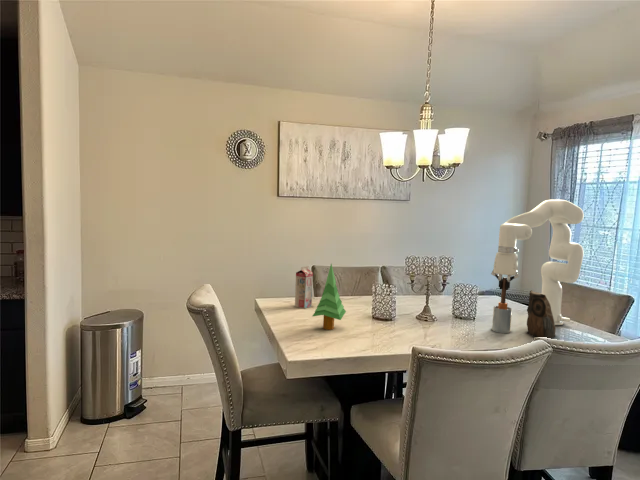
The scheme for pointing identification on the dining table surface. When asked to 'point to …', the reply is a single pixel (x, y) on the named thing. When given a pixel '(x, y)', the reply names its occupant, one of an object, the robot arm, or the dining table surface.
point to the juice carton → (303, 288)
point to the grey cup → (501, 320)
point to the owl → (540, 316)
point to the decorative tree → (330, 303)
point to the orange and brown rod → (503, 295)
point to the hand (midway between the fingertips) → (504, 289)
